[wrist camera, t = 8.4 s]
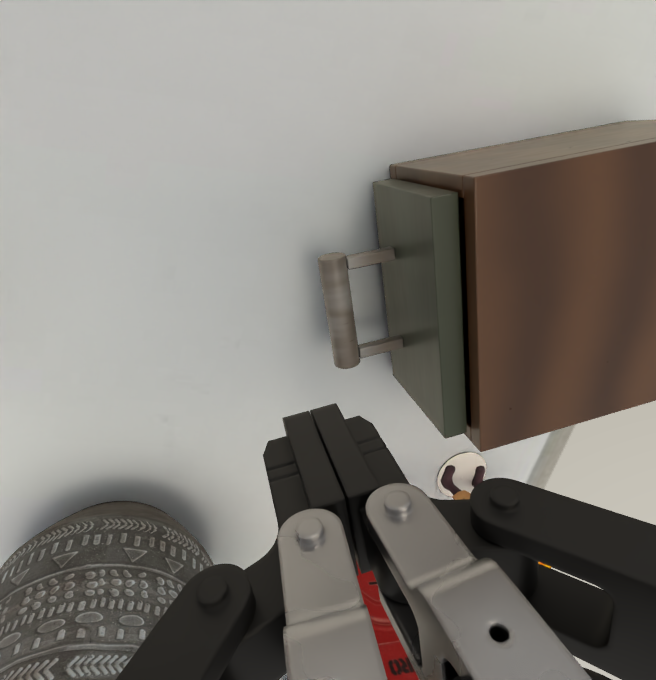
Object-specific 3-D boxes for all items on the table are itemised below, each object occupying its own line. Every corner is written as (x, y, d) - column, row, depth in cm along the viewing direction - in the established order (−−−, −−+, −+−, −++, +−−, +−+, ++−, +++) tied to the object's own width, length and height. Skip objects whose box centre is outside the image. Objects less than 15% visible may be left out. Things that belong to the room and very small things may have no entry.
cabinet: (408, 372, 31) (480, 452, 23) (388, 164, 26) (474, 177, 18) (606, 320, 34) (734, 377, 26) (626, 120, 29) (794, 114, 20)
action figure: (368, 493, 35) (423, 608, 26) (378, 459, 34) (438, 566, 25) (511, 493, 38) (599, 594, 30) (523, 462, 37) (618, 558, 29)
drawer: (332, 391, 30) (369, 461, 23) (299, 195, 25) (334, 216, 18) (584, 325, 32) (679, 371, 26) (599, 138, 28) (720, 139, 21)
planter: (-23, 599, 30) (-158, 883, 19) (62, 446, 28) (-32, 664, 16) (163, 636, 35) (146, 880, 24) (249, 509, 33) (277, 712, 21)
